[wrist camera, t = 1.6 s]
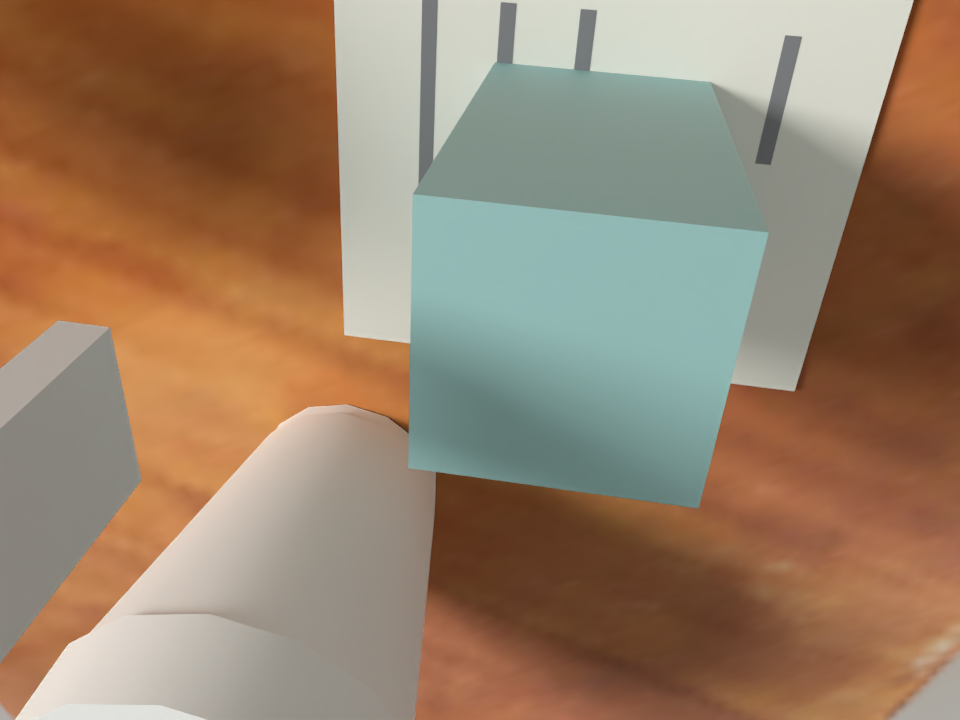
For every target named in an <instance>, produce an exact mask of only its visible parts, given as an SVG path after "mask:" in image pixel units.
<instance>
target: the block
mask: <svg viewBox="0 0 960 720" xmlns="http://www.w3.org/2000/svg"><path fill="white" fill-rule="evenodd" d="M768 234H769V231H768V229H767V226H766V224H765V221H764V219H763V216H762V213H761V211H760V208H759V206H758V203H757V201H756V198H755V195H754V193H753V190H752V188H751V185H750V183H749V180H748V177H747V175H746V172H745V170H744V167H743V165H742V162H741V159H740V157H739V154H738V152H737V149H736V147H735V144H734V141H733V139H732V136H731V134H730V131H729V129H728V126H727V123H726V121H725V118H724V116H723V113H722V111H721V108H720V105H719V103H718V100H717V98H716V95H715V93H714V90H713V87H712V85H711V82H705V81H694V80H683V79H672V78H662V77H651V76H640V75H629V74H618V73H607V72H596V71H585V70H575V69H564V68H553V67H542V66H531V65H520V64H509V63H498V62H495V63H494V65H493V66H492V68H491V69H490V71H489V73H488V74H487V76H486V77H485V79H484V81H483V82H482V84H481V85H480V87H479V89H478V90H477V92H476V93H475V95H474V97H473V98H472V100H471V101H470V103H469V105H468V106H467V108H466V109H465V111H464V113H463V114H462V116H461V117H460V119H459V121H458V122H457V124H456V126H455V127H454V129H453V130H452V132H451V134H450V135H449V137H448V138H447V140H446V142H445V143H444V145H443V146H442V148H441V150H440V151H439V153H438V154H437V156H436V158H435V159H434V161H433V162H432V164H431V166H430V167H429V169H428V170H427V172H426V174H425V175H424V177H423V178H422V180H421V182H420V183H419V185H418V187H417V188H416V190H415V191H414V193H413V208H412V269H411V329H410V390H409V451H408V468H412V469H419V470H426V471H434V472H441V473H448V474H455V475H462V476H469V477H477V478H484V479H491V480H498V481H505V482H513V483H520V484H527V485H534V486H541V487H549V488H556V489H563V490H570V491H577V492H584V493H592V494H599V495H606V496H613V497H620V498H628V499H635V500H642V501H649V502H656V503H663V504H671V505H678V506H685V507H692V508H699V505H700V501H701V497H702V493H703V489H704V485H705V481H706V477H707V473H708V469H709V466H710V462H711V458H712V454H713V450H714V446H715V442H716V438H717V434H718V430H719V426H720V422H721V418H722V415H723V411H724V407H725V403H726V399H727V395H728V391H729V387H730V383H731V379H732V375H733V371H734V368H735V364H736V360H737V356H738V352H739V348H740V344H741V340H742V336H743V332H744V328H745V324H746V320H747V317H748V313H749V309H750V305H751V301H752V297H753V293H754V289H755V285H756V281H757V277H758V273H759V270H760V266H761V262H762V258H763V254H764V250H765V246H766V242H767V238H768Z"/></svg>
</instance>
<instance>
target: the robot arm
mask: <svg viewBox="0 0 960 720" xmlns="http://www.w3.org/2000/svg"><path fill="white" fill-rule="evenodd" d="M140 482H141V475H140V470H139V465H138V461H137V456H136V451H135V446H134V441H133V436H132V432H131V427H130V422H129V417H128V412H127V407H126V403H125V398H124V393H123V388H122V383H121V378H120V373H119V369H118V364H117V359H116V354H115V349H114V344H113V340H112V335H111V330H110V327H103V326H96V325H88V324H80V323H73V322H65V321H57V322H56V323H55V324H54V325H52V326H51V327H50V328H49V329H48V330H46V331H45V332H44V333H43V334H42V335H40V336H39V337H38V338H37V339H36V340H34V341H33V342H32V343H31V344H29V345H28V346H27V347H26V348H25V349H23V350H22V351H21V352H20V353H19V354H17V355H16V356H15V357H14V358H13V359H11V360H10V361H9V362H8V363H7V364H5V365H4V366H3V367H2V368H1V369H0V663H1V662H2V660H3V659H4V658H5V656H6V655H7V654H8V652H9V651H10V650H11V649H12V647H13V646H14V645H15V643H16V642H17V641H18V640H19V638H20V637H21V636H22V634H23V633H24V632H25V630H26V629H27V628H28V627H29V625H30V624H31V623H32V621H33V620H34V619H35V618H36V616H37V615H38V614H39V612H40V611H41V610H42V608H43V607H44V606H45V605H46V603H47V602H48V601H49V599H50V598H51V597H52V596H53V594H54V593H55V592H56V590H57V589H58V588H59V586H60V585H61V584H62V583H63V581H64V580H65V579H66V577H67V576H68V575H69V574H70V572H71V571H72V570H73V568H74V567H75V566H76V564H77V563H78V562H79V561H80V559H81V558H82V557H83V555H84V554H85V553H86V552H87V550H88V549H89V548H90V546H91V545H92V544H93V542H94V541H95V540H96V539H97V537H98V536H99V535H100V533H101V532H102V531H103V530H104V528H105V527H106V526H107V524H108V523H109V522H110V520H111V519H112V518H113V517H114V515H115V514H116V513H117V511H118V510H119V509H120V508H121V506H122V505H123V504H124V502H125V501H126V500H127V498H128V497H129V496H130V495H131V493H132V492H133V491H134V489H135V488H136V487H137V486H138V484H139V483H140Z"/></svg>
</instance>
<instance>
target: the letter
mask: <svg viewBox="0 0 960 720" xmlns="http://www.w3.org/2000/svg"><path fill="white" fill-rule="evenodd" d="M913 1H914V0H334V15H335V47H336V79H337V112H338V144H339V176H340V209H341V241H342V274H343V306H344V335H347V336H355V337H363V338H371V339H379V340H387V341H395V342H403V343H410V329H411V269H412V208H413V193H414V191H415V190H416V188H417V187H418V185H419V183H420V182H421V180H422V178H423V177H424V175H425V174H426V172H427V170H428V169H429V167H430V166H431V164H432V162H433V161H434V159H435V158H436V156H437V154H438V153H439V151H440V150H441V148H442V146H443V145H444V143H445V142H446V140H447V138H448V137H449V135H450V134H451V132H452V130H453V129H454V127H455V126H456V124H457V122H458V121H459V119H460V117H461V116H462V114H463V113H464V111H465V109H466V108H467V106H468V105H469V103H470V101H471V100H472V98H473V97H474V95H475V93H476V92H477V90H478V89H479V87H480V85H481V84H482V82H483V81H484V79H485V77H486V76H487V74H488V73H489V71H490V69H491V68H492V66H493V65H494V63H495V62H498V63H509V64H520V65H531V66H542V67H553V68H564V69H575V70H585V71H596V72H607V73H618V74H629V75H640V76H651V77H662V78H672V79H683V80H694V81H705V82H711V85H712V87H713V90H714V93H715V95H716V98H717V100H718V103H719V105H720V108H721V111H722V113H723V116H724V118H725V121H726V123H727V126H728V129H729V131H730V134H731V136H732V139H733V141H734V144H735V147H736V149H737V152H738V154H739V157H740V159H741V162H742V165H743V167H744V170H745V172H746V175H747V177H748V180H749V183H750V185H751V188H752V190H753V193H754V195H755V198H756V201H757V203H758V206H759V208H760V211H761V213H762V216H763V219H764V221H765V224H766V226H767V229H768V231H769V234H768V238H767V242H766V246H765V250H764V254H763V258H762V262H761V266H760V270H759V273H758V277H757V281H756V285H755V289H754V293H753V297H752V301H751V305H750V309H749V313H748V317H747V320H746V324H745V328H744V332H743V336H742V340H741V344H740V348H739V352H738V356H737V360H736V364H735V368H734V371H733V375H732V379H731V384H739V385H747V386H755V387H763V388H771V389H779V390H787V391H795V388H796V385H797V382H798V379H799V375H800V372H801V369H802V365H803V362H804V359H805V356H806V352H807V349H808V346H809V342H810V339H811V336H812V333H813V329H814V326H815V323H816V320H817V316H818V313H819V310H820V306H821V303H822V300H823V297H824V293H825V290H826V287H827V283H828V280H829V277H830V274H831V270H832V267H833V264H834V260H835V257H836V254H837V251H838V247H839V244H840V241H841V237H842V234H843V231H844V228H845V224H846V221H847V218H848V214H849V211H850V208H851V205H852V201H853V198H854V195H855V192H856V188H857V185H858V182H859V178H860V175H861V172H862V169H863V165H864V162H865V159H866V155H867V152H868V149H869V146H870V142H871V139H872V136H873V132H874V129H875V126H876V123H877V119H878V116H879V113H880V109H881V106H882V103H883V100H884V96H885V93H886V90H887V87H888V83H889V80H890V77H891V73H892V70H893V67H894V64H895V60H896V57H897V54H898V50H899V47H900V44H901V41H902V37H903V34H904V31H905V27H906V24H907V21H908V18H909V14H910V11H911V8H912V4H913Z"/></svg>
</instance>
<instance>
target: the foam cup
mask: <svg viewBox="0 0 960 720" xmlns="http://www.w3.org/2000/svg"><path fill="white" fill-rule="evenodd" d="M408 451H409V433H407V432H406V431H405V430H403V429H402V428H401V427H400V426H398V425H397V424H396V423H394V422H393V421H392V420H391V419H389V418H388V417H386V416H383V415H380V414H377V413H373V412H370V411H367V410H364V409H361V408H357V407H354V406H351V405H348V404H345V405H331V406H317V407H308V408H306V409H304V410H303V411H301V412H299V413H298V414H296V415H294V416H292V417H291V418H289V419H287V420H286V421H284V422H282V423H280V424H279V426H278V427H277V429H276V430H275V431H274V432H272V433H270V434H269V435H268V437H267V438H266V439H265V440H264V441H263V442H262V443H261V444H260V445H259V447H258V448H257V449H256V450H255V451H254V452H253V453H252V454H251V455H250V456H249V458H248V459H247V460H246V461H245V462H244V463H243V464H242V465H241V466H240V467H239V469H238V470H237V471H236V472H235V473H234V474H233V475H232V476H231V477H230V479H229V480H228V481H227V482H226V483H225V484H224V485H223V486H222V487H221V488H220V490H219V491H218V492H217V493H216V494H215V495H214V496H213V497H212V498H211V499H210V501H209V502H208V503H207V504H206V505H205V506H204V507H203V508H202V509H201V511H200V512H199V513H198V514H197V515H196V516H195V517H194V518H193V519H192V520H191V522H190V523H189V524H188V525H187V526H186V527H185V528H184V529H183V530H182V532H181V533H180V534H179V535H178V536H177V537H176V538H175V539H174V540H173V541H172V543H171V544H170V545H169V546H168V547H167V548H166V549H165V550H164V551H163V552H162V554H161V555H160V556H159V557H158V558H157V559H156V560H155V561H154V562H153V564H152V565H151V566H150V567H149V568H148V569H147V570H146V571H145V572H144V573H143V575H142V576H141V577H140V578H139V579H138V580H137V581H136V582H135V583H134V584H133V586H132V587H131V588H130V589H129V590H128V591H127V592H126V593H125V594H124V596H123V597H122V598H121V599H120V600H119V601H118V602H117V603H116V604H115V605H114V607H113V608H112V609H111V610H110V611H109V612H108V613H107V614H106V615H105V616H104V618H103V619H102V620H101V621H100V622H99V623H98V624H97V625H96V626H95V628H94V629H93V630H92V631H91V632H90V633H89V634H87V635H85V636H83V637H81V638H79V639H77V640H75V641H73V642H71V643H69V644H68V645H67V647H66V648H65V649H64V651H63V652H62V654H61V655H60V657H59V658H58V659H57V661H56V662H55V664H54V665H53V667H52V668H51V669H50V671H49V672H48V674H47V675H46V676H45V678H44V679H43V681H42V682H41V684H40V685H39V686H38V688H37V689H36V691H35V692H34V693H33V695H32V696H31V698H30V699H29V701H28V702H27V703H26V705H25V706H24V708H23V709H22V711H21V712H20V713H19V715H18V716H17V718H16V719H15V720H415V711H416V701H417V690H418V680H419V670H420V660H421V649H422V639H423V629H424V619H425V609H426V598H427V588H428V578H429V568H430V557H431V547H432V537H433V527H434V515H435V495H436V472H434V471H426V470H419V469H412V468H408Z"/></svg>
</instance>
